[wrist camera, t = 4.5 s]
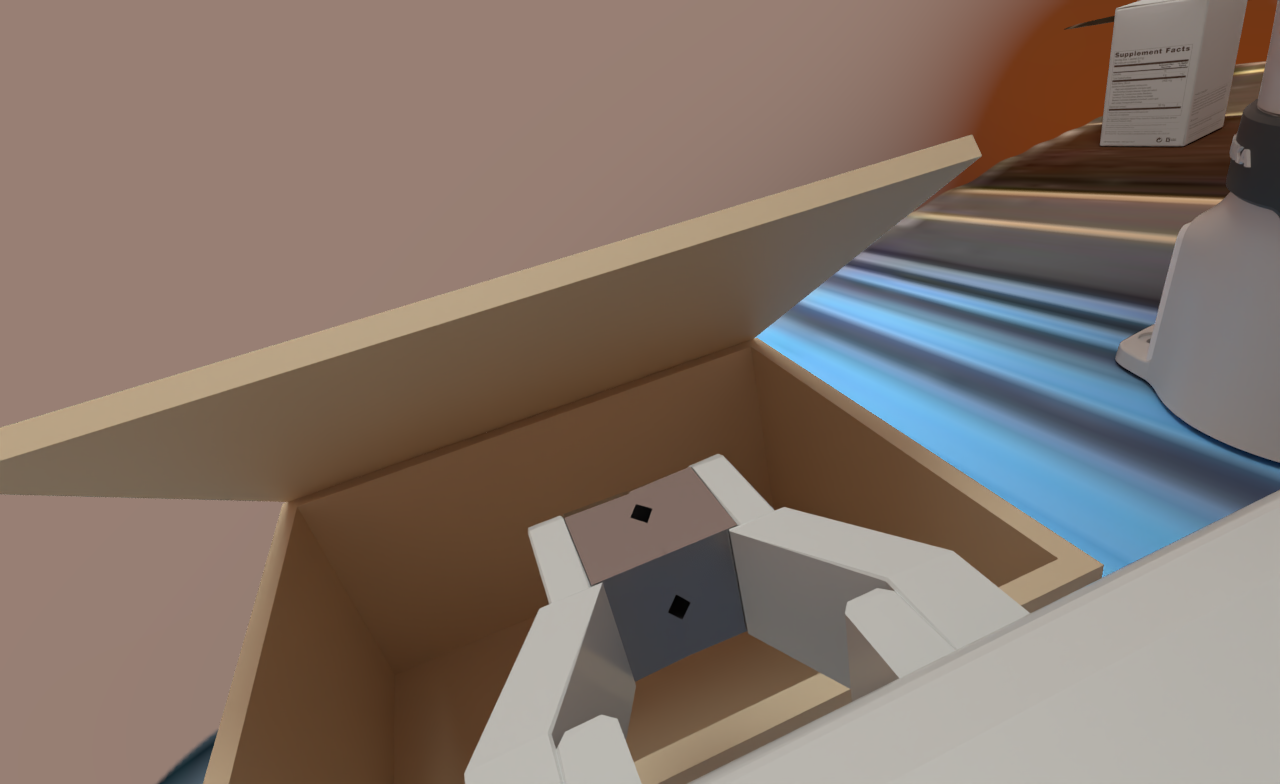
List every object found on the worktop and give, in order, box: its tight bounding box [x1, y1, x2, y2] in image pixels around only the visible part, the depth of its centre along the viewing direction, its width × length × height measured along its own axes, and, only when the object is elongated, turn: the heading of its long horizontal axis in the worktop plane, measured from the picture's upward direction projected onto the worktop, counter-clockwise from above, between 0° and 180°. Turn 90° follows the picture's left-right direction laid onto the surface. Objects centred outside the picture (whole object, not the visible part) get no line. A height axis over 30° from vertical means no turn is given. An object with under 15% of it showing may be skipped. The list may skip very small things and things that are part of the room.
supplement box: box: [1100, 0, 1247, 147], centre depth 73 cm, size 9×9×15 cm
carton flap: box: [0, 135, 981, 502], centre depth 19 cm, size 15×20×1 cm
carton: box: [203, 338, 1104, 784], centre depth 22 cm, size 16×20×10 cm
